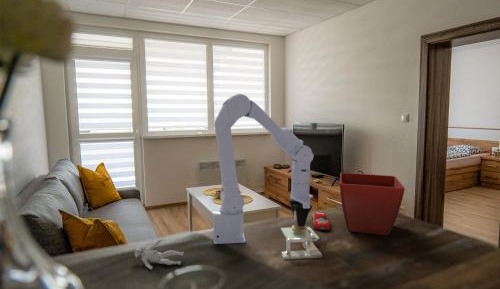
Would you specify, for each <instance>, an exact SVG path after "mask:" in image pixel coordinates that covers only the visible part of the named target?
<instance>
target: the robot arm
mask: <svg viewBox="0 0 500 289" xmlns="http://www.w3.org/2000/svg"><path fill="white" fill-rule="evenodd" d="M242 117H246V118H249V119H254V120H255V121H256V122H257V123H258V124H260V125H261V126H262V127H263V128H264V129H265V130H267V132H269V133H270V134H271V135H272V136H273V142H274V144H276V145H277V146H279V148H281V149H282V150H283V151H284V153H286V154H287V155H288V156H289V158H290V159H291V184H290V185H291V187H290V188H291V190H290V192H291V193H290V199H288V203H289V205H290V208H291V210H292V211H291V212H292V217H293V218H294V211H295V212H296V217H297V224H298V226H306V224H307V223H306V222H307V220H308V215H309V214H310V213H311V210H312V209H313V205H311V201H310V199H313V198H314V195H313V194H310V186H311V184H310V182H311V162H313V159H314V155H315V154H313V152H312V148H311V147H310V146H308V145H304V141H303V140H302V139H299V138H298V137H297V136H296V135H295V134H294V131H293V129H291V128H287V127H280V125H279V124H278V123H277V122H275V121H274V120H273V119H272V117H270V115H268V114H267V112H266V111H264V110H263V109H262V107H260V106H259V105H258V104H257V103H256V102H255V101H254V100H252V99H251V100H250V98H249V97H248V96H247V95H245V94H242V93H238V94H234V95H232V96H230V97H229V98H227V99H226V100H225V101H224V102H223V103H222V105H221V108H220V110H219V112H218V114H217V116H216V117H215V119H214V131H215V138H216V139H215V140H216V146H217V155H218V156H217V157H218V162H219V169H220V178H221V181H220V182H221V183H220V184H221V191H220V193H219V198H220V199H219V200H220V201H221V202H222V204H221V206H220V207H219V210H214V211H213V214H212V215H213V228H212V230H211V231H212V233H211V234H212V236H213V244H214V245H218V244H219V245H223V244H243V243H246V237H245V234H244V207H245V206H244V205H245V199H244V196H243V195H242V194H241V192H240V186H239V182H238V176H237V168H236V160H235V153H234V152H235V150H234V145H233V135H232V127H233V126H234V125H235V124H236V123H237V121H238V120H239V119H241V118H242Z"/></svg>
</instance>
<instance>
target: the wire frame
mask: <svg viewBox="0 0 500 289" xmlns="http://www.w3.org/2000/svg"><path fill="white" fill-rule="evenodd" d="M317 241H318V240H317V238H316V237H315V236H314V234H313V233H312V232H311V231H310V230H307V233H306V238H294V239H286V240H285V243H286V244H285V246H286V248H285V250H284V251H281V256H282V258H283V260H295V259H296V260H297V259H299V260H302V259H318V258H320V259H321V258H323V254H322V252H321V251H320V250H319V248H317V246H316V245H315V243H314V242H317ZM292 243H301V245H302V247H303V248H304V250H291V246H292Z"/></svg>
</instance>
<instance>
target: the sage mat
mask: <svg viewBox="0 0 500 289" xmlns="http://www.w3.org/2000/svg"><path fill="white" fill-rule="evenodd" d="M307 230H310V231H311V232H312V233H313V234H314V236H315V237H316V238H317V241H318V240H320V237H319V236H318V234H317V233H315V231H314V230H313V229H312V228H311V227H310V226H307ZM280 231H281V232H282V234H283V236H284V237H285V239H286V240H287V239H294V238H306V233H307V231H306V232H294V231H292V226H291V227H290V226H289V227H280Z"/></svg>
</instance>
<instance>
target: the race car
mask: <svg viewBox="0 0 500 289" xmlns="http://www.w3.org/2000/svg"><path fill="white" fill-rule="evenodd" d="M312 213H313V214H312V216H311V217H312V219H311V221H312V225H313V229H314V230H319V231H329V230H330V221H329V220H330V218H328V215H327V214H326V212H323V211H314V212H312Z"/></svg>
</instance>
